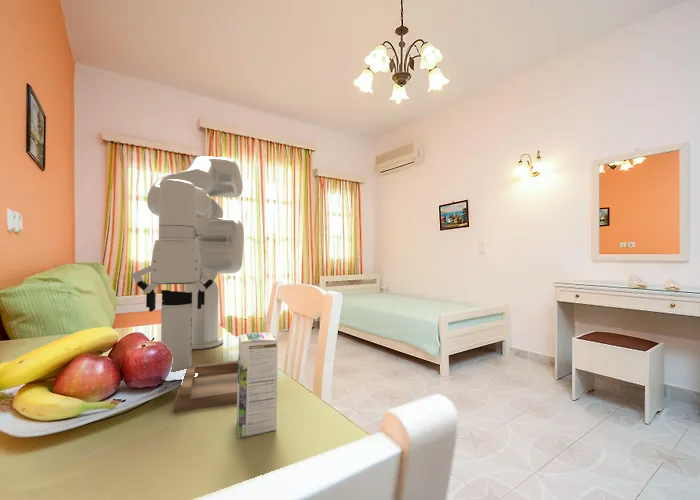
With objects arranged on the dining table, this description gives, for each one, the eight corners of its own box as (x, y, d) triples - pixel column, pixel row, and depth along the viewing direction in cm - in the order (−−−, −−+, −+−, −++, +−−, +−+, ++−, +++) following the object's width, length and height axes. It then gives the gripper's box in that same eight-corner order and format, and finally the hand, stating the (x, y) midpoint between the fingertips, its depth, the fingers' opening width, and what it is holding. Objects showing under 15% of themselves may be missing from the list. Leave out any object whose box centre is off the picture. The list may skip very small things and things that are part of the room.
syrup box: (235, 421, 54) (236, 334, 54) (271, 414, 56) (272, 331, 57) (238, 439, 49) (239, 342, 49) (278, 430, 51) (278, 338, 52)
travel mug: (152, 379, 73) (154, 289, 73) (180, 370, 78) (181, 287, 79) (170, 384, 70) (171, 291, 70) (197, 374, 76) (198, 288, 76)
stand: (182, 383, 70) (183, 365, 70) (250, 375, 75) (250, 358, 75) (174, 412, 57) (174, 390, 57) (256, 399, 62) (256, 379, 62)
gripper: (218, 236, 82) (217, 305, 81) (137, 234, 75) (136, 309, 75) (217, 234, 75) (217, 309, 74) (129, 232, 68) (127, 314, 68)
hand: (176, 309), depth 74 cm, fingers open, 9 cm apart
